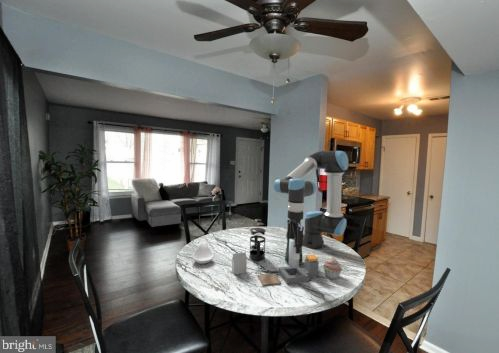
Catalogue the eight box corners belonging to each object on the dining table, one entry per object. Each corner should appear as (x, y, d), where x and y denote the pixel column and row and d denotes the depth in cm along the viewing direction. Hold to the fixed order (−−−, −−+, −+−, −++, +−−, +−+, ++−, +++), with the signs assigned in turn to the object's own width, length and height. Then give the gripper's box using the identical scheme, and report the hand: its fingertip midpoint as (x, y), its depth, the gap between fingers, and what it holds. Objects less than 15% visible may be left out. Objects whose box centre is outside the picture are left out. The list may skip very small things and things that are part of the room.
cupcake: (324, 270, 124) (325, 252, 123) (342, 275, 119) (344, 256, 118) (320, 277, 116) (321, 258, 115) (339, 283, 111) (341, 263, 110)
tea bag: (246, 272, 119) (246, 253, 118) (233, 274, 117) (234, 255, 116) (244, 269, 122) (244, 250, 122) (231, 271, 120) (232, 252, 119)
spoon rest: (214, 265, 126) (214, 253, 125) (192, 267, 123) (192, 254, 123) (211, 249, 149) (211, 238, 148) (192, 250, 146) (192, 239, 146)
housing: (309, 269, 124) (310, 255, 123) (321, 280, 113) (322, 264, 112) (278, 273, 119) (278, 258, 119) (287, 284, 108) (287, 268, 108)
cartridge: (296, 262, 118) (296, 238, 117) (300, 267, 113) (301, 241, 112) (286, 263, 117) (287, 238, 116) (291, 268, 112) (292, 242, 111)
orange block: (313, 265, 120) (313, 254, 120) (317, 269, 116) (318, 258, 115) (304, 266, 119) (305, 255, 119) (309, 270, 115) (310, 259, 114)
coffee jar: (288, 265, 128) (289, 232, 126) (283, 259, 136) (284, 228, 134) (304, 264, 130) (306, 232, 128) (298, 258, 137) (300, 227, 136)
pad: (274, 274, 118) (274, 273, 117) (281, 283, 109) (281, 282, 109) (257, 276, 115) (257, 275, 115) (262, 286, 107) (263, 284, 107)
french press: (266, 261, 132) (267, 222, 131) (250, 262, 131) (251, 222, 129) (263, 253, 144) (264, 216, 142) (247, 253, 143) (248, 216, 141)
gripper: (281, 206, 120) (280, 250, 122) (296, 215, 103) (294, 265, 105) (294, 206, 122) (293, 249, 124) (311, 214, 105) (309, 264, 107)
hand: (293, 256), depth 115 cm, fingers closed on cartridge, 5 cm apart
